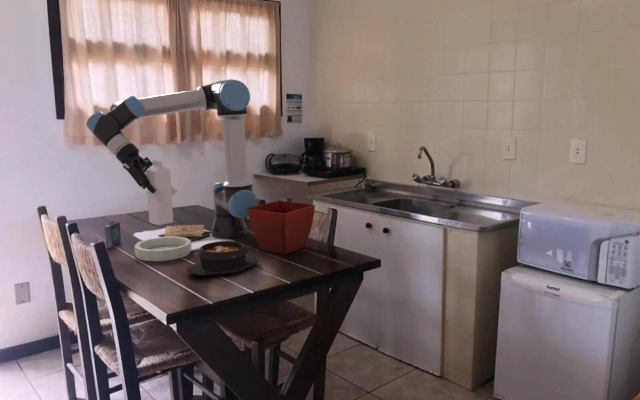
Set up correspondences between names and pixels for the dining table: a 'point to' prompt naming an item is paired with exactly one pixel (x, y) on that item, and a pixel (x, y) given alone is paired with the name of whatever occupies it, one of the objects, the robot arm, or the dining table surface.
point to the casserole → (222, 259)
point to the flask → (112, 234)
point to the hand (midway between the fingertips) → (168, 196)
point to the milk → (162, 179)
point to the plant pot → (281, 225)
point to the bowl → (163, 248)
